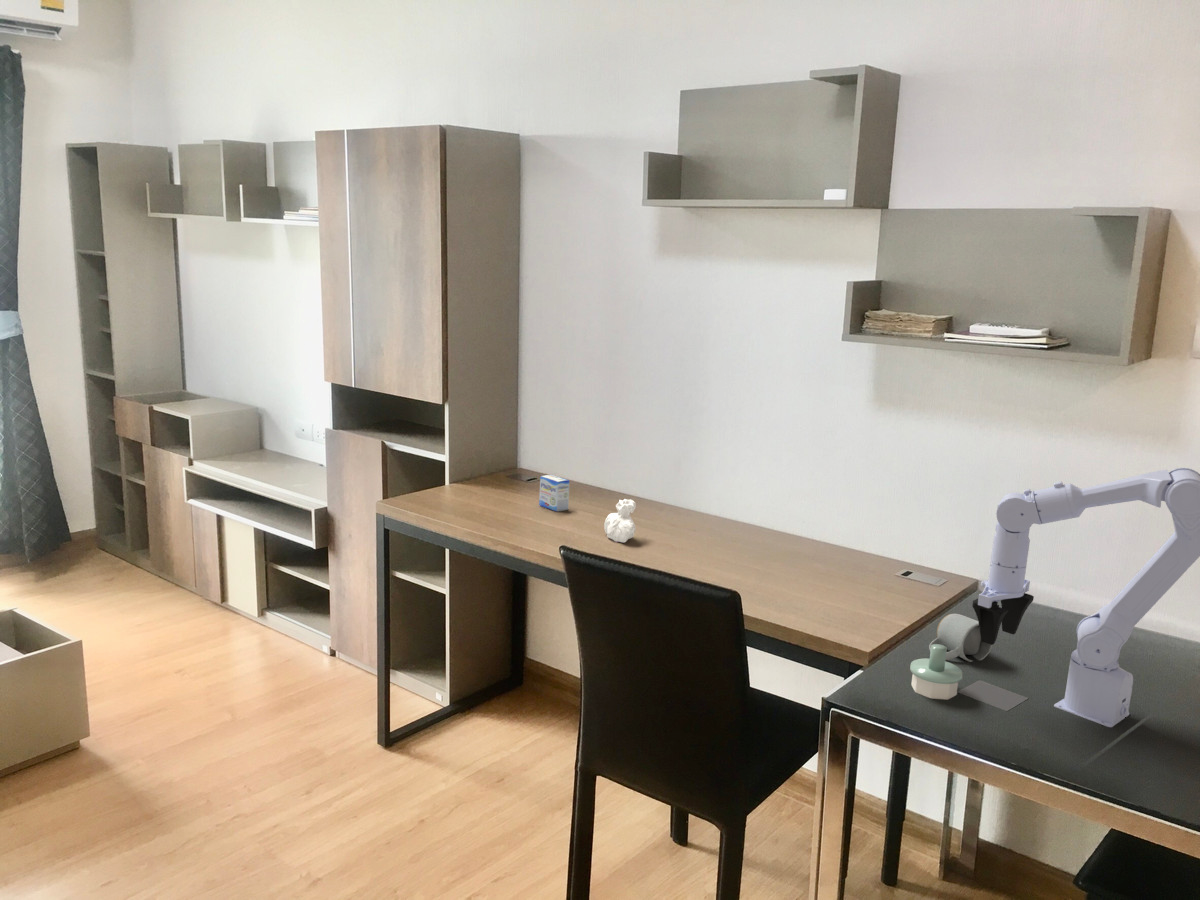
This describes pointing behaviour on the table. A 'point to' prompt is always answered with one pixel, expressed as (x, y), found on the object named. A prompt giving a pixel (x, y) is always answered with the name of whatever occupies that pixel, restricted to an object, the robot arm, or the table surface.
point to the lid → (936, 667)
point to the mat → (993, 695)
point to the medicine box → (554, 493)
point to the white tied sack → (621, 522)
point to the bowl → (934, 688)
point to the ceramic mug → (961, 637)
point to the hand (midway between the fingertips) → (998, 637)
